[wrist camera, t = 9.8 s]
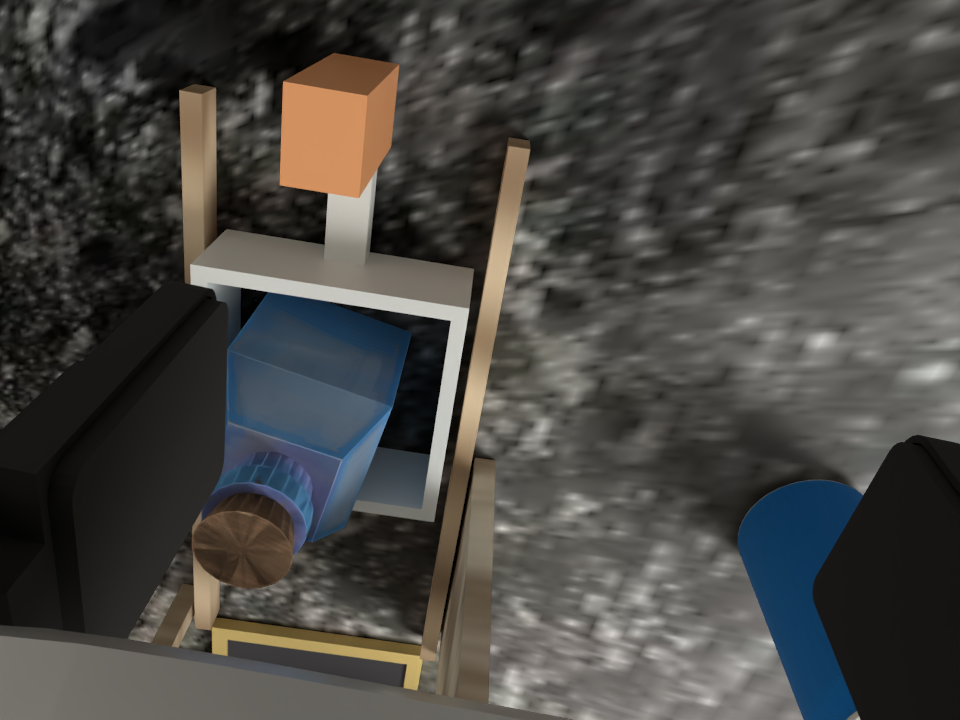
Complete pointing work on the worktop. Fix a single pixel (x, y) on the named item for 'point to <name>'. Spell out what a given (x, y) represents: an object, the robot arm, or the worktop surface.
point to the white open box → (349, 251)
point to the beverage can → (799, 585)
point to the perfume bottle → (296, 433)
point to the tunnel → (466, 606)
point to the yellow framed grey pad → (320, 652)
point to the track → (203, 232)
